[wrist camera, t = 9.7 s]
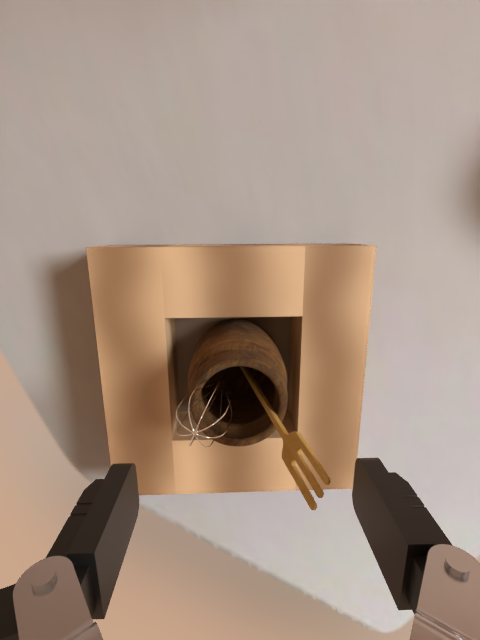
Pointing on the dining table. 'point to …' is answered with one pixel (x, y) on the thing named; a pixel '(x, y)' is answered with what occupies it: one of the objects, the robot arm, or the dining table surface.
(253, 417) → the utensil holder
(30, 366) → the dining table surface
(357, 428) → the oak socket block
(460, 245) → the dining table surface
